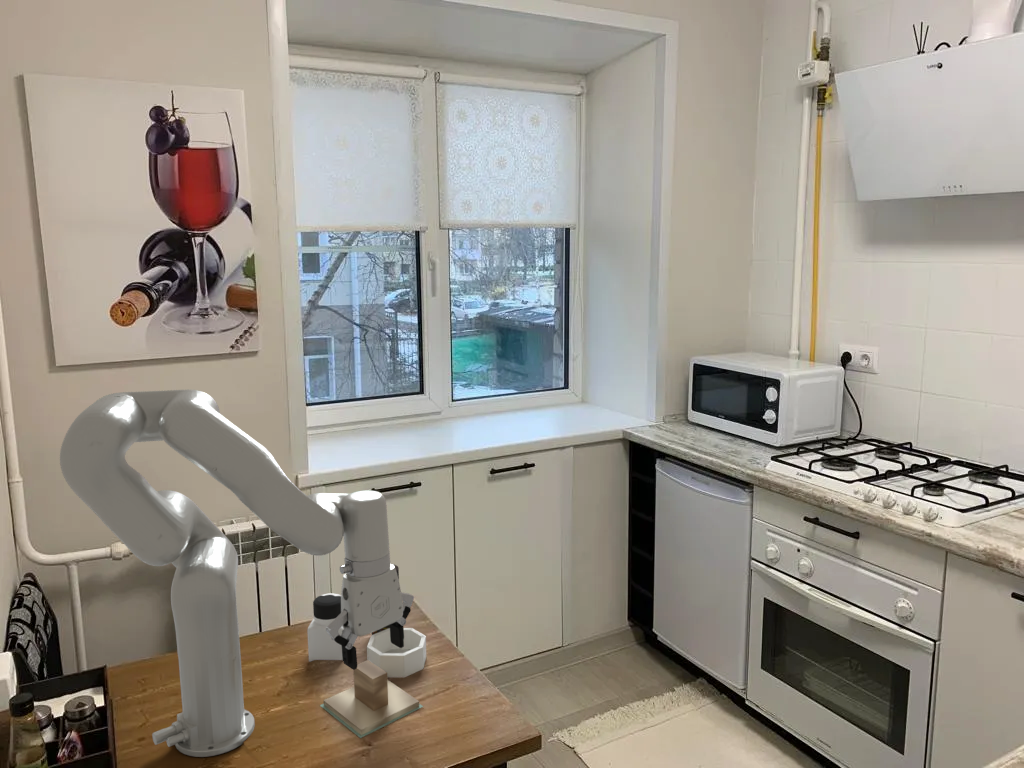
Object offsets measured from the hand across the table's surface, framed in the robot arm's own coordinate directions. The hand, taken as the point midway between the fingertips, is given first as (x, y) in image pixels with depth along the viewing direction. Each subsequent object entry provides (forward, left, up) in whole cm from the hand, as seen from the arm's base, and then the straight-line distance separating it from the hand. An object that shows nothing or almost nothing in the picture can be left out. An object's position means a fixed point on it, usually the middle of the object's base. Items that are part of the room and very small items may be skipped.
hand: (374, 655), depth 136 cm
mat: (-1, 0, -10) cm, 10 cm away
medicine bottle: (+4, +22, -10) cm, 25 cm away
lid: (-1, 0, -10) cm, 9 cm away
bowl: (+11, +9, -10) cm, 18 cm away
